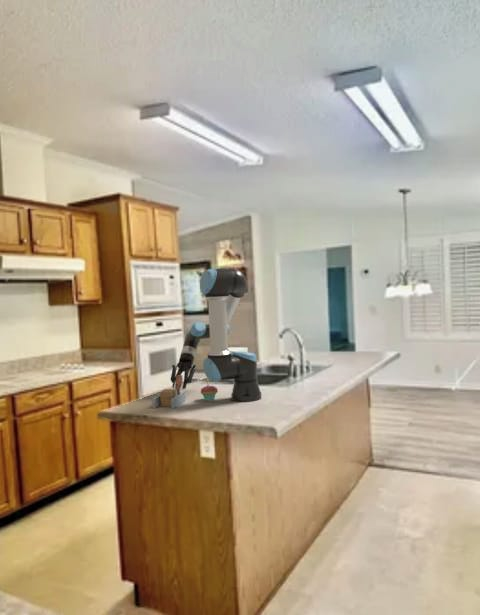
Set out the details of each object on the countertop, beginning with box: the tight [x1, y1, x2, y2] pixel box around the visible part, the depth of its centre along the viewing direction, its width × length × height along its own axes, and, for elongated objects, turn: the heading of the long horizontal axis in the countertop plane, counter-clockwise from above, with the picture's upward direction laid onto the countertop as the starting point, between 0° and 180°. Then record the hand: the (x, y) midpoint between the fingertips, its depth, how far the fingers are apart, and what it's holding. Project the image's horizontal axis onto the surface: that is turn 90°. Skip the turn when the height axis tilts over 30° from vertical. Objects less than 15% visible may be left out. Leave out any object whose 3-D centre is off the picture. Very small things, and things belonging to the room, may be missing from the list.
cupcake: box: [200, 377, 219, 402], centre depth 244 cm, size 9×8×12 cm
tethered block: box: [159, 374, 184, 407], centre depth 244 cm, size 20×6×12 cm, turn 165°
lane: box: [151, 392, 186, 410], centre depth 237 cm, size 14×11×4 cm
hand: (177, 393), depth 247 cm, fingers closed on tethered block, 3 cm apart
